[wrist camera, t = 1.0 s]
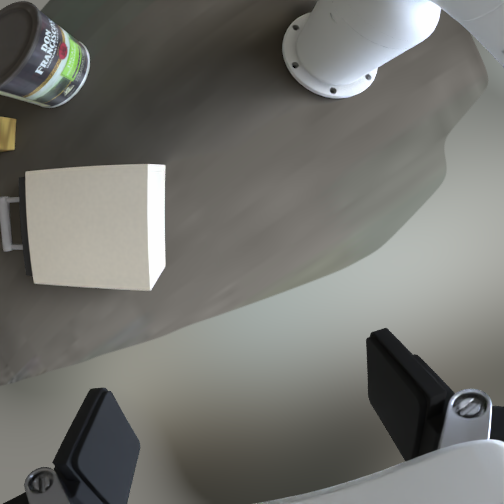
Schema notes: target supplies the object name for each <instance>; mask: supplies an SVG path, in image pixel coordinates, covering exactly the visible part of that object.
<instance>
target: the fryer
mask: <svg viewBox="0 0 504 504" xmlns="http://www.w3.org/2000/svg"><path fill="white" fill-rule="evenodd" d="M25 187H26V214H27V229H28V240H29V250H30V259H31V266H32V274H33V280H34V284H46V285H60V286H74V287H89V288H105V289H124V290H144V291H151V289H152V287H153V286H154V284H155V282H156V281H157V279H158V277H159V276H160V274H161V273H162V271H163V269H164V268H165V165H157V164H126V165H103V166H85V167H71V168H58V169H46V170H36V171H26V172H25Z"/></svg>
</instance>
